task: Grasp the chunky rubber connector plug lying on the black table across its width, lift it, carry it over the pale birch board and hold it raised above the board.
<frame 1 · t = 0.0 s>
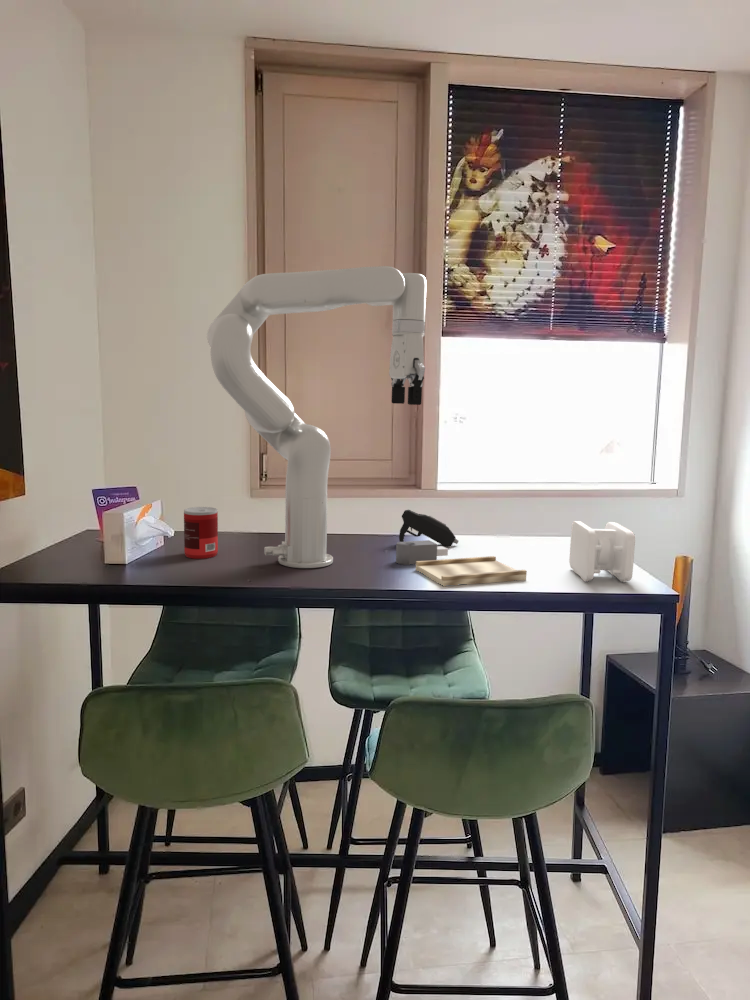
hand: (406, 404, 167), 37 cm above the table, tool pointing down, fingers open, 9 cm apart
board: (469, 574, 157), on the table
canned food: (201, 556, 168), on the table
connector: (419, 561, 168), on the table
gun: (428, 546, 186), on the table
cable organizer: (599, 577, 159), on the table
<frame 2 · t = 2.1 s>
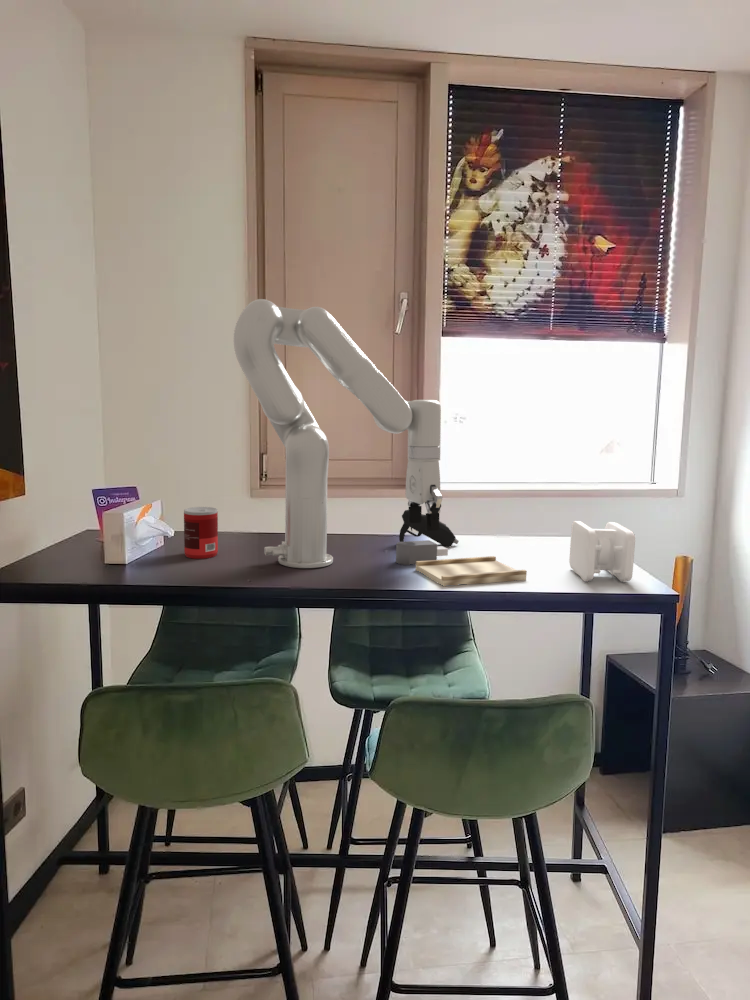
hand: (423, 526, 166), 8 cm above the table, tool pointing down, fingers open, 9 cm apart
nothing on the table moved.
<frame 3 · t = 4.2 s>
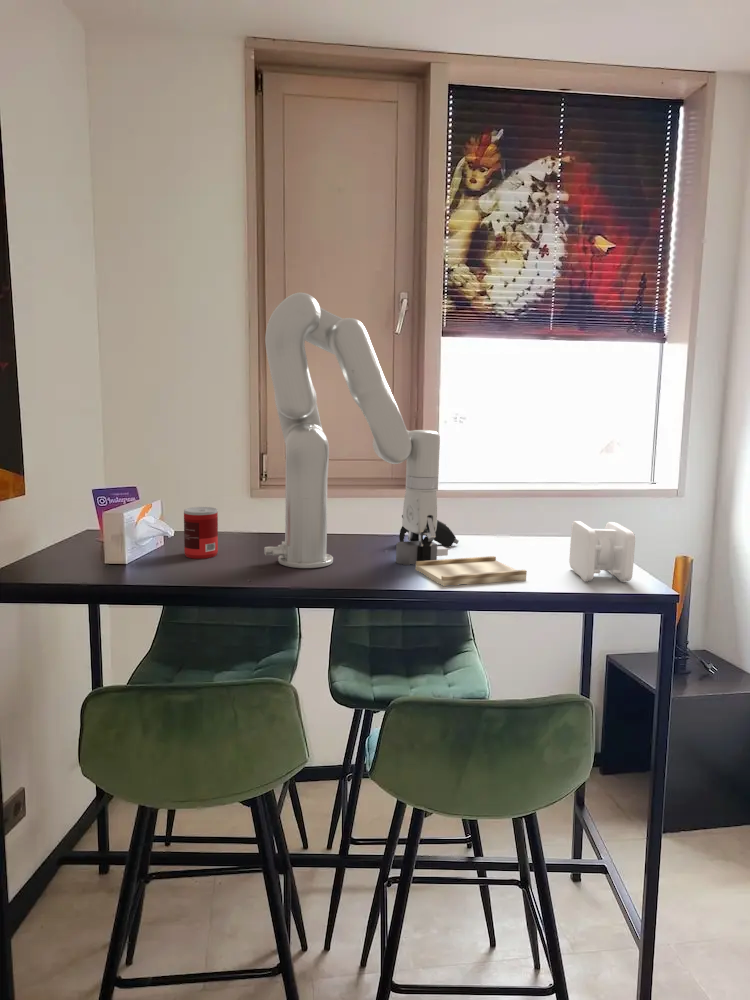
hand: (419, 559, 168), 1 cm above the table, tool pointing down, fingers closed on connector, 4 cm apart
connector: (419, 561, 168), on the table, touching gripper
everything else where it was.
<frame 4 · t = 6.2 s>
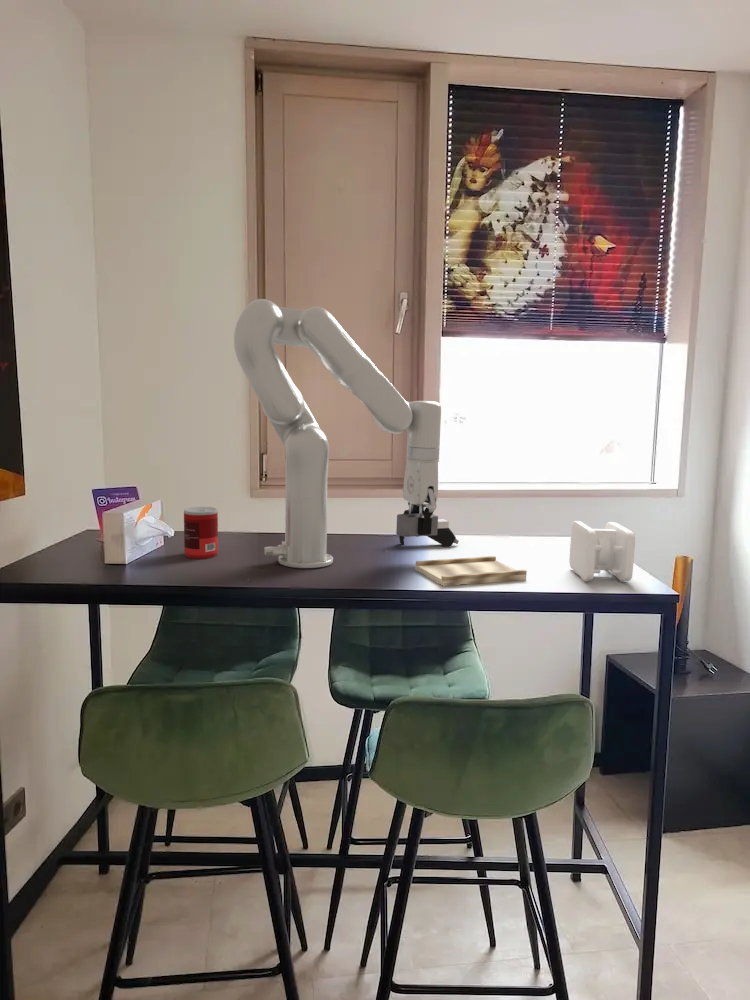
hand: (419, 531, 166), 7 cm above the table, tool pointing down, fingers closed on connector, 4 cm apart
connector: (419, 533, 167), point 7 cm above the table, touching gripper
everything else where it was.
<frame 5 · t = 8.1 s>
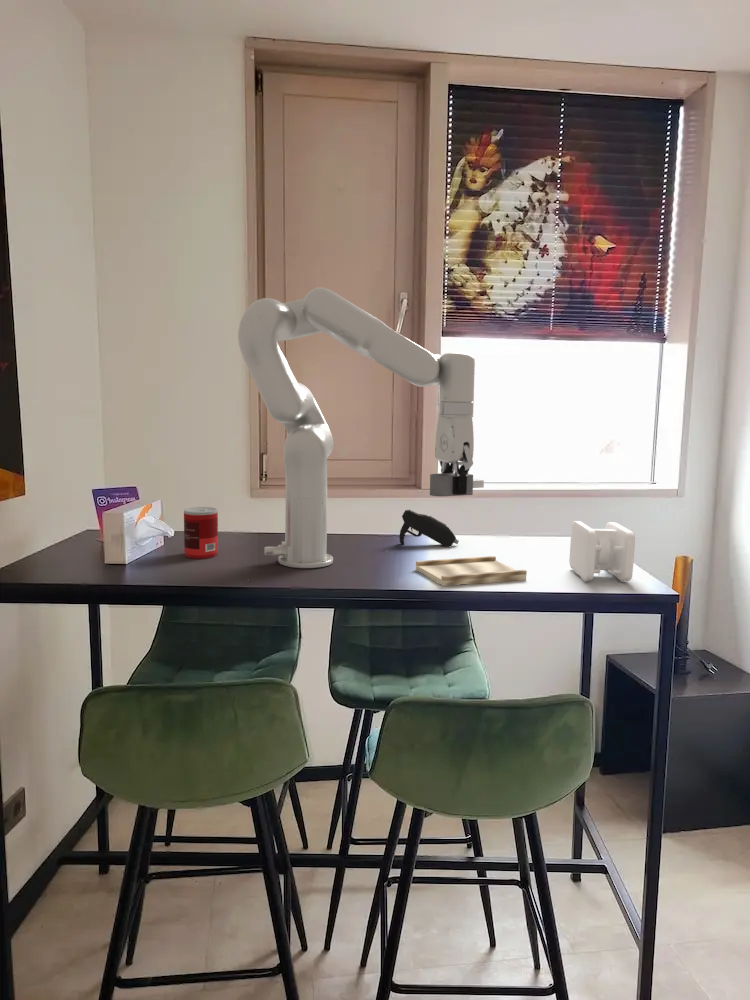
hand: (453, 491, 158), 18 cm above the table, tool pointing down, fingers closed on connector, 4 cm apart
connector: (453, 494, 159), point 17 cm above the table, touching gripper
everything else where it was.
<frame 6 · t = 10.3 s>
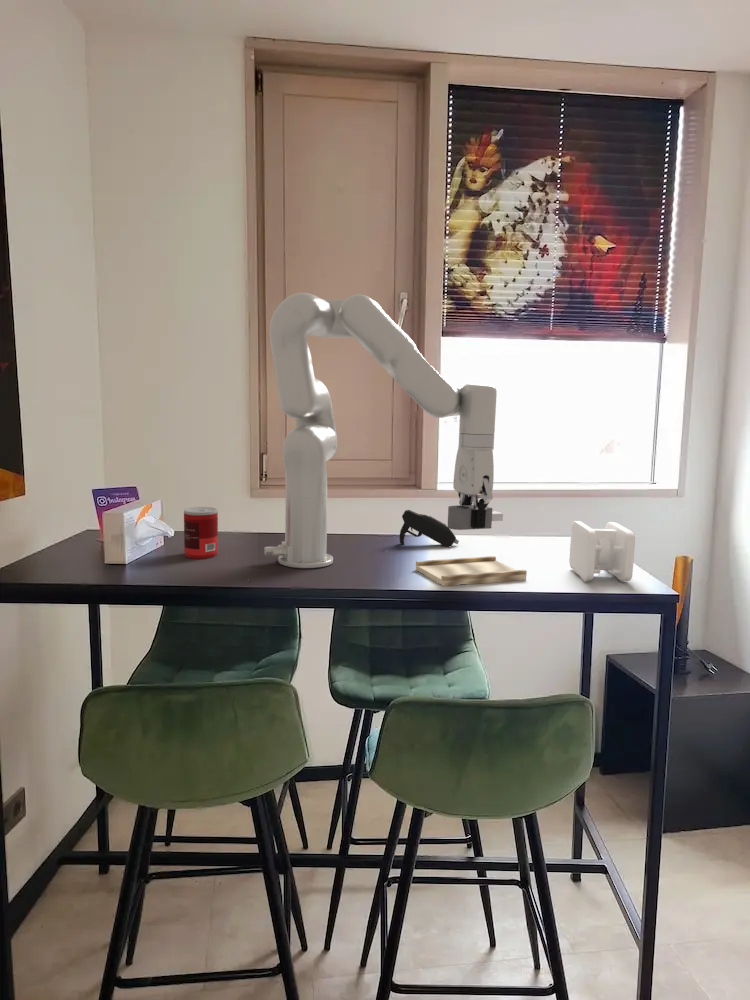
hand: (472, 524, 155), 11 cm above the table, tool pointing down, fingers closed on connector, 4 cm apart
connector: (472, 527, 155), point 11 cm above the table, touching gripper
everything else where it was.
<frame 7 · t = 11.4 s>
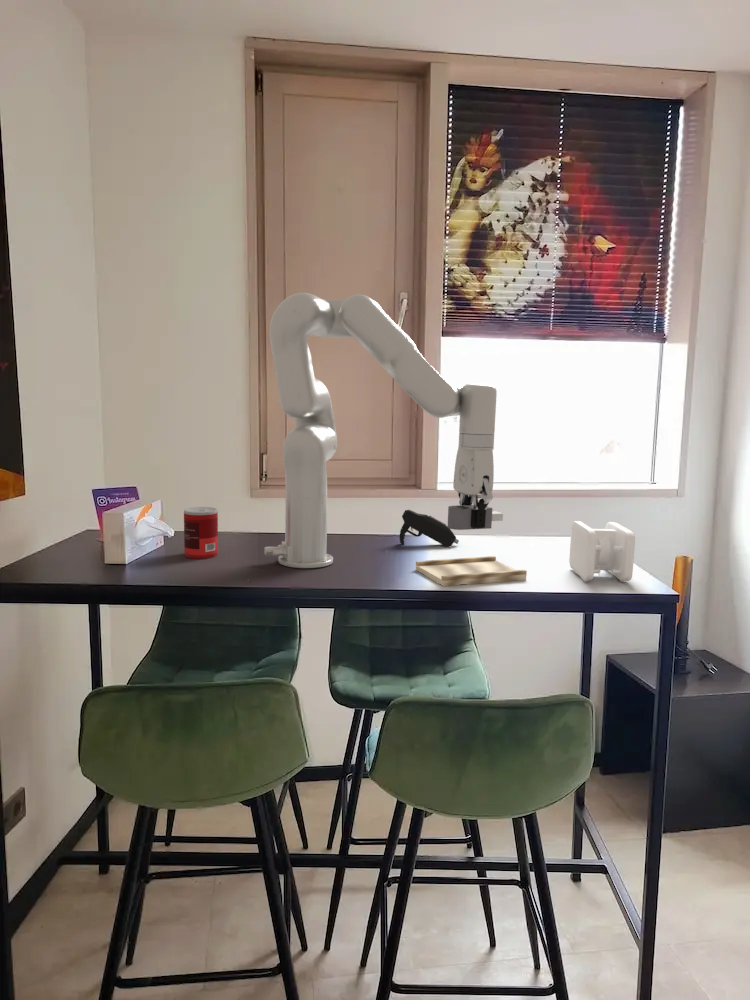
hand: (472, 524, 155), 11 cm above the table, tool pointing down, fingers closed on connector, 4 cm apart
connector: (472, 527, 155), point 11 cm above the table, touching gripper
everything else where it was.
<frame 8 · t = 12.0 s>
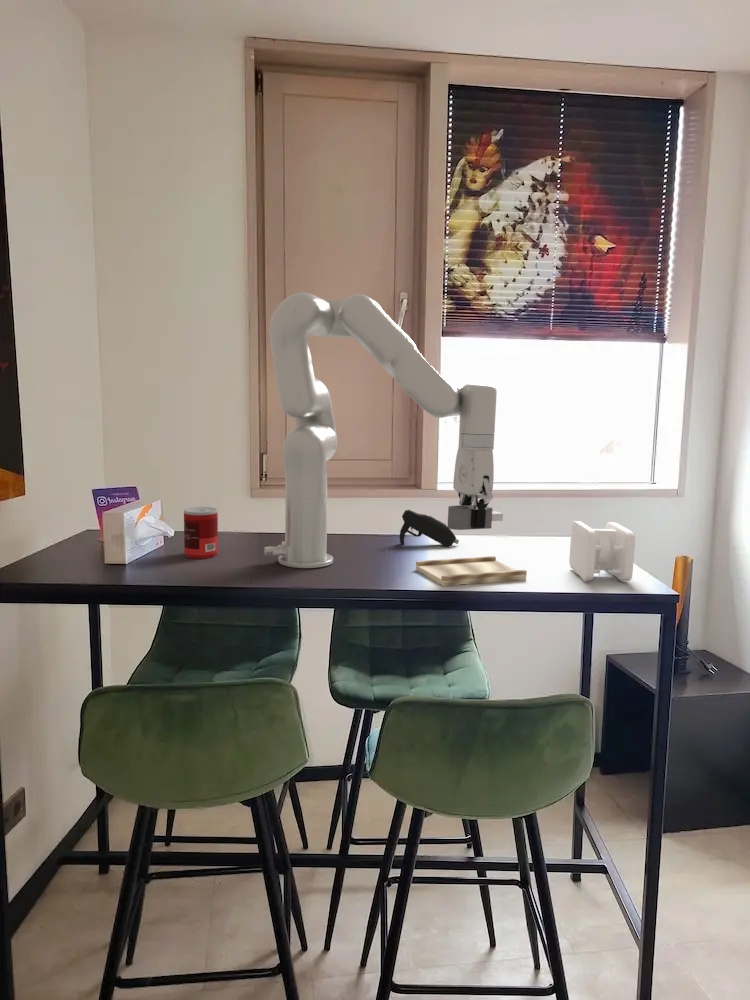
hand: (472, 524, 155), 11 cm above the table, tool pointing down, fingers closed on connector, 4 cm apart
connector: (472, 527, 155), point 11 cm above the table, touching gripper
everything else where it was.
at the end: the gripper is holding connector; connector point 10.7 cm above the table; connector 0.0 cm from the board (horizontally) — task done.
